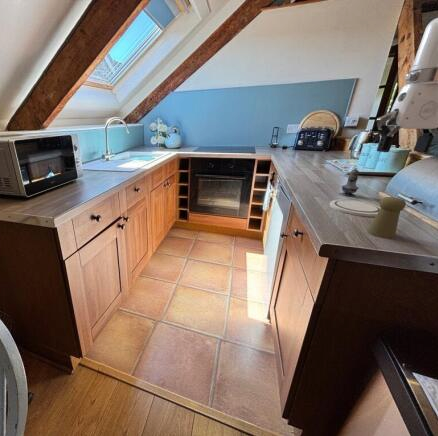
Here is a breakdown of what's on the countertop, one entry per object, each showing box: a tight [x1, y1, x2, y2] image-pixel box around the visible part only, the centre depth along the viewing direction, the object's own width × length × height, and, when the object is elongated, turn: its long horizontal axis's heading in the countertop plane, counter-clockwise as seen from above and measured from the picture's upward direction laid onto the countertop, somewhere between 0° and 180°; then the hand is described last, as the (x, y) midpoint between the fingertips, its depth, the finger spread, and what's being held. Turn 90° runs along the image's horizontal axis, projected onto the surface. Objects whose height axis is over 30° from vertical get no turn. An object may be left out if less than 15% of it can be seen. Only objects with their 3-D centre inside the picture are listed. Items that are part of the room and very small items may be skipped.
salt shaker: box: [340, 167, 360, 198], centre depth 104 cm, size 6×6×12 cm
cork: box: [367, 196, 407, 239], centre depth 70 cm, size 6×6×11 cm
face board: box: [329, 199, 381, 218], centre depth 91 cm, size 16×16×1 cm
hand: (401, 151), depth 65 cm, fingers open, 9 cm apart
